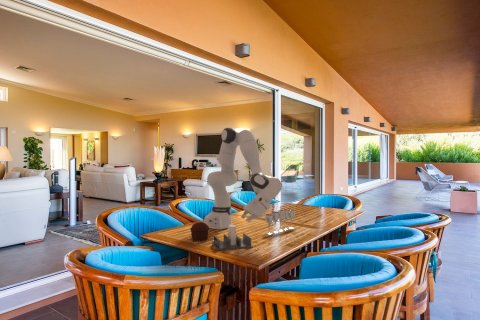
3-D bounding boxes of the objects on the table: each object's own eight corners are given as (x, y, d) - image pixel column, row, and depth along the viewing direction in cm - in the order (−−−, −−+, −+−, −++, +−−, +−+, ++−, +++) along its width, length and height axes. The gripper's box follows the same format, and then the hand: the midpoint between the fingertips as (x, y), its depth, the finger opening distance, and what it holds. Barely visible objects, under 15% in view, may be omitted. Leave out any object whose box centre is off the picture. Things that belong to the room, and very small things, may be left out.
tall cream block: (230, 245, 169) (230, 226, 169) (228, 242, 174) (228, 224, 174) (235, 244, 170) (236, 226, 170) (233, 242, 175) (233, 224, 175)
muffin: (191, 237, 190) (191, 220, 190) (209, 236, 191) (209, 220, 191) (189, 242, 178) (189, 225, 178) (208, 242, 179) (208, 224, 179)
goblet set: (270, 234, 196) (270, 213, 196) (263, 233, 200) (263, 212, 200) (296, 228, 215) (297, 208, 215) (290, 226, 219) (290, 207, 219)
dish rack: (218, 250, 162) (218, 241, 162) (212, 243, 176) (212, 234, 176) (252, 247, 168) (252, 238, 168) (244, 240, 181) (244, 232, 181)
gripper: (251, 195, 186) (235, 212, 183) (264, 200, 166) (246, 219, 164) (258, 202, 187) (242, 219, 185) (271, 208, 168) (254, 227, 165)
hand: (244, 219), depth 174 cm, fingers open, 8 cm apart
